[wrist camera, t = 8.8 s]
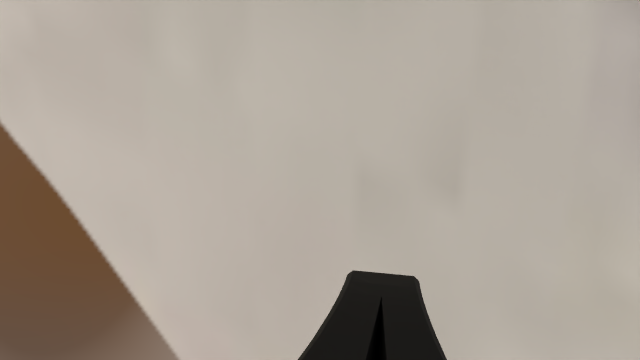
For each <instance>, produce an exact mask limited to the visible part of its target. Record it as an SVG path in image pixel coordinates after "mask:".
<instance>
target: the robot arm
mask: <svg viewBox="0 0 640 360" xmlns="http://www.w3.org/2000/svg"><path fill="white" fill-rule="evenodd" d="M298 360H447V359H446V357H445V355H444V352H443V350H442V348H441V346H440V343H439V341H438V339H437V337H436V334H435V332H434V329H433V327H432V324H431V322H430V319H429V316H428V313H427V310H426V307H425V304H424V301H423V297H422V294H421V289H420V284H419V281H418V280H417V279H416V278H415V277H414V276H406V275H395V274H385V273H374V272H364V271H352V272H350V273H349V274H348V275H347V278H346V280H345V283H344V285H343V288H342V290H341V292H340V294H339V296H338V298H337V300H336V302H335V304H334V305H333V307H332V309H331V311H330V313H329V314H328V316H327V317H326V319H325V321H324V322H323V324H322V325H321V327H320V329H319V330H318V332H317V333H316V335H315V336H314V338H313V339H312V341H311V342H310V344H309V345H308V347H307V348H306V349H305V351H304V352H303V353H302V355H301V356H300V357H299V359H298Z"/></svg>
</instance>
